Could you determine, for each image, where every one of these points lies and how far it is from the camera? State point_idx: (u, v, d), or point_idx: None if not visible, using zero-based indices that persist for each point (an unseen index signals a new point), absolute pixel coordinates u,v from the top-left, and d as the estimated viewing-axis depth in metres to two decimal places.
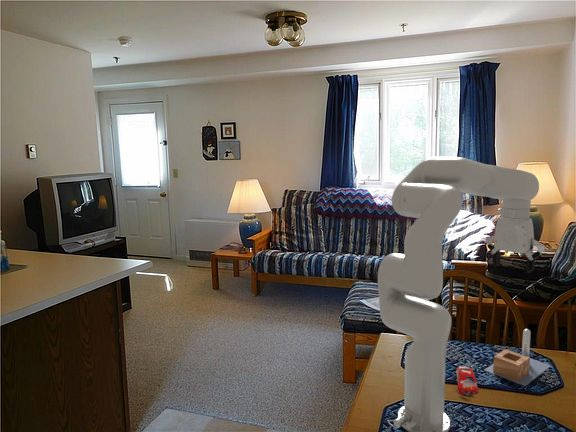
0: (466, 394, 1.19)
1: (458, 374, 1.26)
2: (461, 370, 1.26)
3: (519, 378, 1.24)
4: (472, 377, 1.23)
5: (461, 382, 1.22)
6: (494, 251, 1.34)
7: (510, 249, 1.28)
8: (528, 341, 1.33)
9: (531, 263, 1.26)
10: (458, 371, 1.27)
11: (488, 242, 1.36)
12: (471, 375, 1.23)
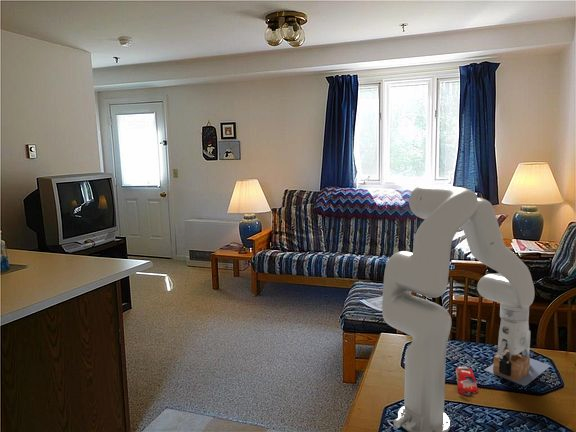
0: (466, 394, 1.19)
1: (458, 374, 1.26)
2: (461, 370, 1.26)
3: (519, 378, 1.24)
4: (472, 377, 1.23)
5: (461, 382, 1.22)
6: (509, 360, 1.24)
7: (522, 349, 1.26)
8: None
9: None
10: (457, 371, 1.27)
11: (503, 355, 1.23)
12: (471, 375, 1.23)
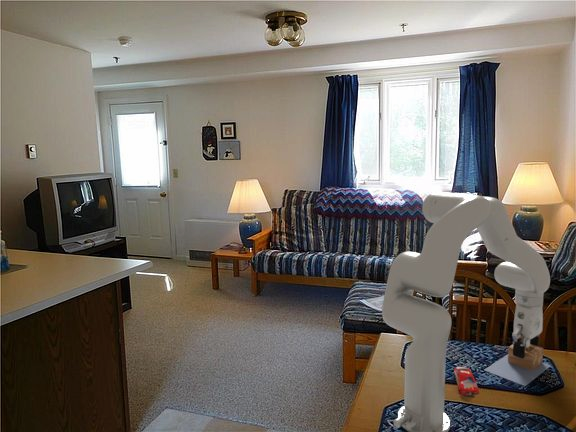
0: (467, 395, 1.18)
1: (457, 375, 1.25)
2: (460, 370, 1.26)
3: (533, 367, 1.30)
4: (472, 377, 1.23)
5: (461, 383, 1.21)
6: (523, 343, 1.29)
7: (537, 334, 1.31)
8: (528, 341, 1.33)
9: None
10: (457, 372, 1.27)
11: (517, 337, 1.28)
12: (470, 375, 1.23)
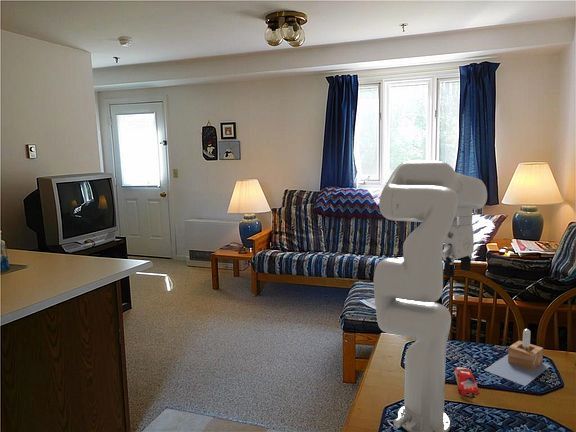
0: (468, 395, 1.18)
1: (457, 375, 1.25)
2: (460, 371, 1.25)
3: (533, 367, 1.30)
4: (472, 378, 1.22)
5: (461, 383, 1.21)
6: (452, 262, 1.34)
7: (466, 254, 1.35)
8: (528, 341, 1.33)
9: None
10: (457, 372, 1.26)
11: (446, 255, 1.32)
12: (470, 376, 1.23)
